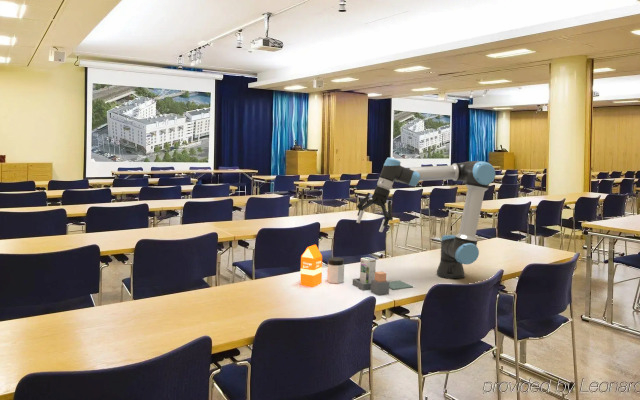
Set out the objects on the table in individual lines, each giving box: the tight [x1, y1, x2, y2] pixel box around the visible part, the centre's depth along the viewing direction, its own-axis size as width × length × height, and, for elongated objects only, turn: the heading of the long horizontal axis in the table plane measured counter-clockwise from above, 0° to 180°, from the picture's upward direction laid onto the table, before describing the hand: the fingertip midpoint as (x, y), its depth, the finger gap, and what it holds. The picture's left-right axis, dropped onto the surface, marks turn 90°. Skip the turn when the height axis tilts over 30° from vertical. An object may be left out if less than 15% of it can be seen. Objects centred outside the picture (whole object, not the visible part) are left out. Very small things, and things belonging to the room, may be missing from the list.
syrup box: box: [359, 256, 377, 284], centre depth 244 cm, size 6×6×14 cm
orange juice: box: [300, 244, 323, 288], centre depth 246 cm, size 8×9×20 cm
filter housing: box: [352, 277, 390, 296], centre depth 240 cm, size 11×21×6 cm, turn 25°
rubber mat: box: [389, 279, 414, 291], centre depth 248 cm, size 12×12×1 cm
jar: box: [326, 256, 345, 284], centre depth 252 cm, size 9×8×12 cm
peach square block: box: [375, 271, 387, 282], centre depth 233 cm, size 4×4×4 cm
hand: (369, 227), depth 245 cm, fingers open, 13 cm apart
